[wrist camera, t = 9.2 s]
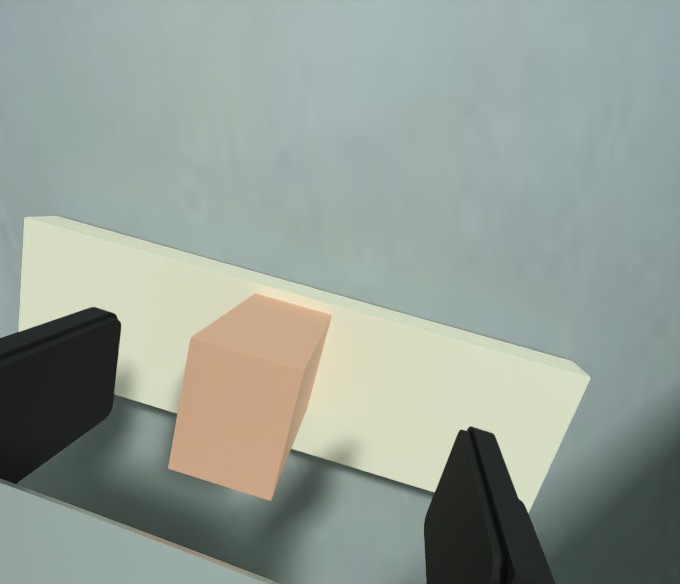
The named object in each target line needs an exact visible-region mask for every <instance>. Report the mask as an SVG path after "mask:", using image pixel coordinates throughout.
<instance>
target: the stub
mask: <svg viewBox="0 0 680 584" xmlns="http://www.w3.org/2000/svg"><path fill="white" fill-rule="evenodd" d="M90 307H96V308H99V309H103V310H106V311H109V312H112V313H115V314H116V315H117V318H118V320H119V321H120V322H121V335H120V344H119V353H118V362H117V371H116V381H115V390H114V394H115V395H118V396H121V397H124V398H128V399H131V400H134V401H138V402H141V403H144V404H147V405H151V406H154V407H157V408H160V409H164V410H167V411H170V412H173V413H177V419H176V425H175V431H174V437H173V442H172V448H171V454H170V460H169V466H168V469H171V470H174V471H177V472H180V473H184V474H187V475H190V476H193V477H196V478H199V479H203V480H206V481H209V482H212V483H215V484H218V485H222V486H225V487H228V488H231V489H234V490H237V491H241V492H244V493H247V494H250V495H253V496H257V497H260V498H263V499H266V500H269V501H271V500H272V497H273V495H274V492H275V489H276V487H277V484H278V482H279V479H280V477H281V474H282V472H283V469H284V466H285V464H286V461H287V459H288V456H289V454H290V451H291V449H294V450H297V451H301V452H304V453H307V454H311V455H314V456H317V457H320V458H324V459H327V460H330V461H333V462H337V463H340V464H343V465H346V466H350V467H353V468H356V469H359V470H363V471H366V472H369V473H373V474H376V475H379V476H382V477H386V478H389V479H392V480H395V481H399V482H402V483H405V484H408V485H412V486H415V487H418V488H422V489H425V490H428V491H431V492H435V491H436V488H437V486H438V483H439V480H440V478H441V475H442V473H443V470H444V468H445V465H446V462H447V460H448V457H449V455H450V452H451V450H452V447H453V444H454V442H455V439H456V437H457V434H458V432H459V431H460V430H461V429H462V430H465V431H467V429H468V428H469V427H470V426H472V427H475V428H478V429H481V430H484V431H487V432H491V433H493V434H494V435H495V437H496V440H497V442H498V445H499V448H500V450H501V453H502V456H503V458H504V461H505V464H506V466H507V469H508V472H509V474H510V477H511V480H512V482H513V485H514V488H515V490H516V493H517V496H518V498H519V499H520V500H521V501H522V502H523V503H524V505H525V507H526V509H527V512H528V513H529V511H530V509H531V507H532V505H533V502H534V500H535V498H536V496H537V494H538V491H539V489H540V487H541V485H542V483H543V481H544V478H545V476H546V474H547V472H548V470H549V468H550V465H551V463H552V461H553V459H554V457H555V455H556V452H557V450H558V448H559V446H560V444H561V442H562V439H563V437H564V435H565V433H566V431H567V428H568V426H569V424H570V422H571V420H572V418H573V415H574V413H575V411H576V409H577V407H578V405H579V402H580V400H581V398H582V396H583V394H584V392H585V389H586V387H587V385H588V383H589V381H590V379H591V377H590V376H589V375H587V374H586V373H585V372H584V371H583V370H582V369H580V368H579V367H578V366H577V365H576V364H575V363H573V362H572V361H570V360H566V359H563V358H559V357H556V356H552V355H549V354H545V353H542V352H538V351H534V350H531V349H527V348H524V347H520V346H517V345H513V344H510V343H506V342H502V341H499V340H495V339H492V338H488V337H485V336H481V335H478V334H474V333H471V332H467V331H463V330H460V329H456V328H453V327H449V326H446V325H442V324H439V323H435V322H431V321H428V320H424V319H421V318H417V317H414V316H410V315H407V314H403V313H399V312H396V311H392V310H389V309H385V308H382V307H378V306H375V305H371V304H368V303H364V302H360V301H357V300H353V299H350V298H346V297H343V296H339V295H336V294H332V293H328V292H325V291H321V290H318V289H314V288H311V287H307V286H304V285H300V284H297V283H293V282H289V281H286V280H282V279H279V278H275V277H272V276H268V275H265V274H261V273H257V272H254V271H250V270H247V269H243V268H240V267H236V266H233V265H229V264H226V263H222V262H218V261H215V260H211V259H208V258H204V257H201V256H197V255H194V254H190V253H186V252H183V251H179V250H176V249H172V248H169V247H165V246H162V245H158V244H155V243H151V242H147V241H144V240H140V239H137V238H133V237H130V236H126V235H123V234H119V233H115V232H112V231H108V230H105V229H101V228H98V227H94V226H91V225H87V224H84V223H80V222H76V221H73V220H69V219H66V218H62V217H59V216H40V217H24V236H23V255H22V274H21V293H20V312H19V332H20V331H23V330H26V329H29V328H32V327H35V326H38V325H41V324H44V323H46V322H49V321H52V320H55V319H58V318H61V317H64V316H67V315H70V314H73V313H76V312H79V311H82V310H84V309H87V308H90Z"/></svg>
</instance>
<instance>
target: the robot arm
mask: <svg viewBox="0 0 680 584" xmlns="http://www.w3.org/2000/svg"><path fill="white" fill-rule="evenodd" d="M120 335H121V322H120V321H119V320H118V318H117V315H116V314H115V313H112V312H109V311H106V310H103V309H99V308H96V307H90V308H87V309H84V310H82V311H79V312H76V313H73V314H70V315H67V316H64V317H61V318H58V319H55V320H52V321H49V322H46V323H44V324H41V325H38V326H35V327H32V328H29V329H26V330H23V331H20V332H17V333H14V334H11V335H9V336H6V337H3V338H0V584H280V583H278V582H275V581H273V580H270V579H267V578H265V577H262V576H259V575H257V574H254V573H252V572H249V571H246V570H244V569H241V568H238V567H236V566H233V565H231V564H228V563H225V562H223V561H220V560H217V559H215V558H212V557H210V556H207V555H204V554H202V553H199V552H196V551H194V550H191V549H188V548H186V547H183V546H180V545H178V544H175V543H172V542H170V541H167V540H164V539H162V538H159V537H156V536H154V535H151V534H148V533H146V532H143V531H140V530H138V529H135V528H132V527H130V526H127V525H124V524H122V523H119V522H116V521H114V520H111V519H108V518H106V517H103V516H100V515H98V514H95V513H92V512H90V511H87V510H84V509H81V508H79V507H76V506H73V505H71V504H68V503H65V502H63V501H60V500H57V499H55V498H52V497H49V496H46V495H44V494H41V493H38V492H35V491H33V490H30V489H27V488H25V487H22V486H19V485H16V483H18V482H19V481H20V480H22V479H23V478H24V477H26V476H27V475H29V474H30V473H31V472H33V471H34V470H35V469H37V468H38V467H40V466H41V465H42V464H44V463H45V462H46V461H48V460H49V459H51V458H52V457H53V456H55V455H56V454H57V453H59V452H60V451H62V450H63V449H64V448H66V447H67V446H68V445H70V444H71V443H73V442H74V441H75V440H77V439H78V438H79V437H81V436H82V435H84V434H85V433H86V432H88V431H89V430H90V429H92V428H93V427H94V426H96V425H97V424H99V423H100V422H101V421H103V420H104V419H105V418H106V417H107V416H108V415H109V413H110V412H111V409H112V406H113V399H114V390H115V381H116V371H117V362H118V353H119V344H120ZM424 539H425V558H426V577H427V584H555V582H554V579H553V576H552V574H551V571H550V569H549V566H548V563H547V561H546V558H545V556H544V553H543V551H542V548H541V545H540V543H539V540H538V538H537V535H536V532H535V530H534V527H533V525H532V522H531V520H530V517H529V514H528V512H527V509H526V507H525V505H524V503H523V502H522V501H521V500H520V499H519V498H518V496H517V493H516V490H515V488H514V485H513V482H512V480H511V477H510V474H509V472H508V469H507V466H506V464H505V461H504V458H503V456H502V453H501V450H500V448H499V445H498V442H497V440H496V437H495V435H494V434H493V433H491V432H487V431H484V430H481V429H478V428H475V427H472V426H470V427H469V428H468V429H467V431H465V430H462V429H461V430H460V431H459V432H458V434H457V437H456V439H455V442H454V444H453V447H452V450H451V452H450V455H449V457H448V460H447V462H446V465H445V468H444V470H443V473H442V475H441V478H440V480H439V483H438V486H437V488H436V491H435V493H434V496H433V498H432V501H431V503H430V506H429V509H428V511H427V514H426V518H425V523H424Z"/></svg>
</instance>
